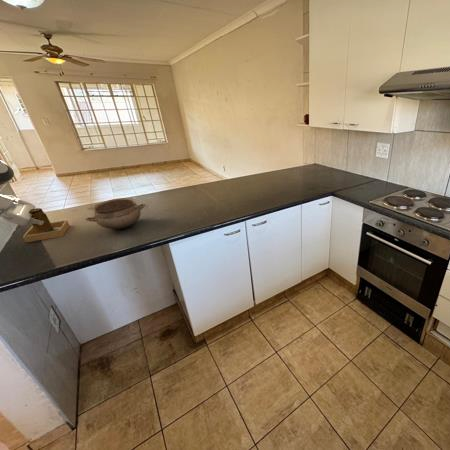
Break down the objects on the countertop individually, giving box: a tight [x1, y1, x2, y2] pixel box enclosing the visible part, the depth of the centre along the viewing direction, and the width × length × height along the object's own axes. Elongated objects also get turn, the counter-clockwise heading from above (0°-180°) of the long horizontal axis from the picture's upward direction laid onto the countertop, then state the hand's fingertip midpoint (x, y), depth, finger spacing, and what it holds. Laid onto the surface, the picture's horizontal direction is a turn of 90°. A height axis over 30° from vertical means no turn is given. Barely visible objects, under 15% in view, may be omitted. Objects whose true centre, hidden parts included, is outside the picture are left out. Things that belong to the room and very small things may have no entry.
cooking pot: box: [85, 197, 146, 230], centre depth 123 cm, size 25×19×12 cm
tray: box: [22, 219, 70, 243], centre depth 119 cm, size 13×12×3 cm
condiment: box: [29, 207, 60, 234], centre depth 116 cm, size 7×8×12 cm
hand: (44, 220), depth 117 cm, fingers open, 7 cm apart
